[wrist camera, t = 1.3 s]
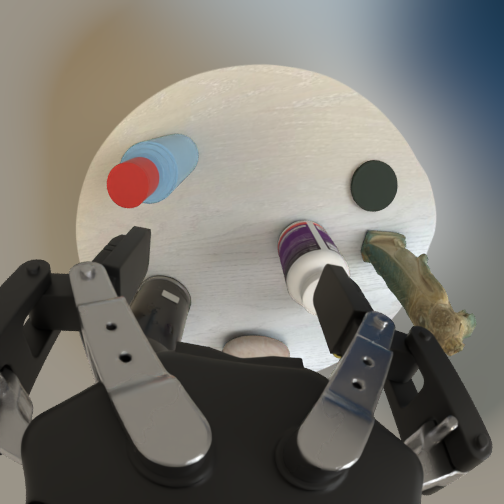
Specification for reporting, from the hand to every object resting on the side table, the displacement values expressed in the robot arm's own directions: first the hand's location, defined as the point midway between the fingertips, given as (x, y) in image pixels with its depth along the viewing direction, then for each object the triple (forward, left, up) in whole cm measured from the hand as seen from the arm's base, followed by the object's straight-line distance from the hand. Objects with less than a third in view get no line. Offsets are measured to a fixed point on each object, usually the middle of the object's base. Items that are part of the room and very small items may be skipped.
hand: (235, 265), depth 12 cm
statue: (+16, -21, -28) cm, 39 cm away
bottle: (-8, +5, -28) cm, 29 cm away
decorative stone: (-12, -32, -28) cm, 44 cm away
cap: (-8, +5, -13) cm, 16 cm away
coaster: (+17, -10, -28) cm, 34 cm away
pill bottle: (+4, -15, -28) cm, 32 cm away
